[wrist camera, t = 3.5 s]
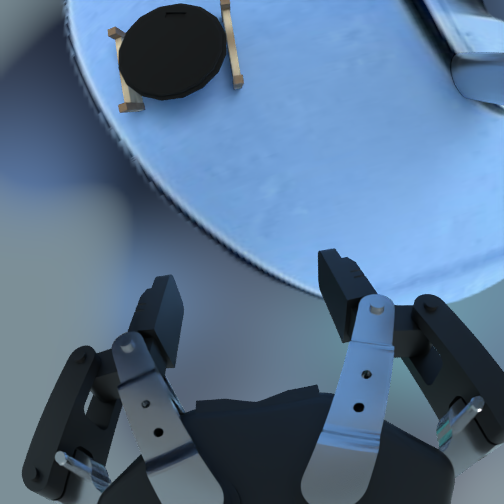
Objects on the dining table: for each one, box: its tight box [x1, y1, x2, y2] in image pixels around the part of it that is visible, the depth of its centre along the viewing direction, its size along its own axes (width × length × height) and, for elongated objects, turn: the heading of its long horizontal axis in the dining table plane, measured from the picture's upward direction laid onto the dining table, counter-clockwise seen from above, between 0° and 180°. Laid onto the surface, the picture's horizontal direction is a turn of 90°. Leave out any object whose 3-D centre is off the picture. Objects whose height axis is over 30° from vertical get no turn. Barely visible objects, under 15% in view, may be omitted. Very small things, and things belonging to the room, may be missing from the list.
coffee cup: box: [119, 3, 227, 100], centre depth 24 cm, size 11×11×12 cm
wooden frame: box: [108, 0, 244, 113], centre depth 26 cm, size 12×14×7 cm
